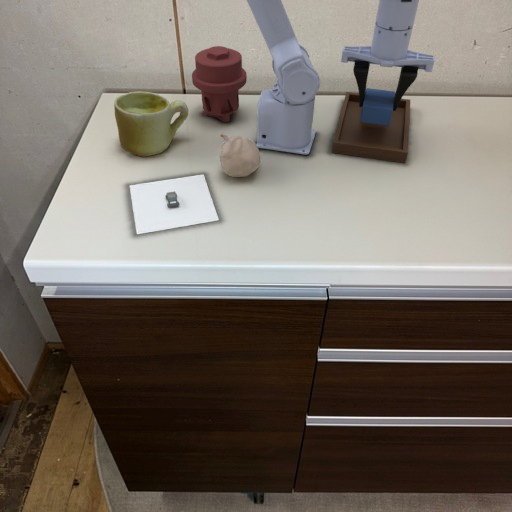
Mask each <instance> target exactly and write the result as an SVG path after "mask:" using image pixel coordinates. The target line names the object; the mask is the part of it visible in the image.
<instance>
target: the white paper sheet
mask: <svg viewBox="0 0 512 512" xmlns="http://www.w3.org/2000/svg"><path fill="white" fill-rule="evenodd" d="M129 190H130V198H131V204H132V211H133V212H132V213H133V219H134V225H135V226H134V227H135V232H136V235H142V234H148V233H153V232H159V231H165V230H169V229H170V230H171V229H176V228H183V227H189V226H193V225H200V224H205V223H211V222H217V221H220V220H219V219H220V218H219V216H218V213H217V210H216V207H215V204H214V200H213V199H212V198H213V197H212V195H211V192H210V189H209V187H208V183H207V180H206V178H205V174H197V175H189V176H184V177H183V176H182V177H177V178H170V179H163V180H157V181H150V182H149V181H148V182H144V183H137V184H131V185H129Z"/></svg>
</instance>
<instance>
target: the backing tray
mask: <svg viewBox="0 0 512 512" xmlns="http://www.w3.org/2000/svg"><path fill="white" fill-rule="evenodd" d="M359 103H360V99H359V92H350V91H346V92H345V95H344V99H343V102H342V107H341V109H340V114H339V117H338V121H337V126H336V129H335V133H334V137H333V140H332V147H331V153H333V154H339V155H346V156H354V157H359V158H368V159H375V160H380V161H387V162H395V163H400V164H401V163H402V164H405V163H406V160H407V157H408V153H409V135H410V117H411V116H410V115H411V99H409V98H401V100H400V102H399V104H398V106H397V109H396V111H393V112H392V116H391V121H390V125H389V126H386V125H379V124H371V123H364V122H360V119H361V113H362V108H363V107H360V106H359Z"/></svg>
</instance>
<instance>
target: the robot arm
mask: <svg viewBox="0 0 512 512" xmlns="http://www.w3.org/2000/svg"><path fill="white" fill-rule="evenodd" d="M246 2H247V4H248V6H249V9H250V10H251V13H252V15H253V18H254V20H255V22H256V24H257V26H258V28H259V30H260V33H261V35H262V38H263V39H264V41H265V44H266V46H267V48H268V51H269V53H270V55H271V57H272V62H271V66H272V71H273V72H274V75H275V77H276V81H275V84H274V85H273V87H272V89H263V90H262V91H261V93H260V95H259V99H258V105H257V116H256V117H257V118H256V119H257V121H256V122H257V125H256V128H257V129H256V131H257V132H256V143H255V144H256V146H257V147H258V149H263V150H269V151H271V150H272V151H279V152H285V153H292V154H298V155H299V154H300V155H304V156H308V155H309V154H310V152H311V149H312V146H313V143H314V140H315V136H316V133H317V131H316V130H315V129H313V123H314V112H315V104H316V103H315V101H316V95H317V94H318V92H319V90H320V87H321V78H320V75H319V73H318V71H317V70H316V69H315V67H314V65H313V63H312V61H311V60H310V55H309V53H308V51H307V50H306V48H305V47H304V46H303V45H301V44H300V43H299V41H298V38H297V37H296V36H297V35H296V33H295V31H294V29H293V26H292V24H291V21H290V19H289V17H288V14H287V11H286V9H285V6H284V4H283V1H282V0H246ZM419 2H420V0H378V6H377V12H376V17H375V23H374V28H373V35H372V40H371V45H366V46H365V45H363V46H348V45H344V46H343V48H342V51H341V59H340V62H341V63H345V64H347V63H349V62H352V63H354V64H353V69H352V70H353V75H354V79H355V81H356V85H357V89H358V90H357V91H358V93H359V99H360V103H359V106H360V107H363V103H364V99H365V94H366V88H367V83H368V77H369V72H370V66H371V65H377V66H380V67H383V68H393V67H394V68H395V67H396V68H400V73H399V78H398V83H397V86H396V88H395V89H396V90H395V95H394V103H393V104H394V105H393V111H396V109H397V106H398V104H399V102H400V100H401V99H403V97H404V95H405V93H406V92H407V91H408V90H409V88H410V87H411V86H412V85H413V84H414V82H416V80H417V77H418V74H419V73H418V72H419V70H424V72H427V73H432V72H433V68H434V64H435V61H436V59H435V58H436V56H435V55H432V54H426V53H422V52H417V51H413V50H409V45H410V42H411V36H412V32H413V27H414V24H415V19H416V17H417V16H416V15H417V11H418V7H419Z"/></svg>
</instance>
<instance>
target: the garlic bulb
mask: <svg viewBox="0 0 512 512" xmlns="http://www.w3.org/2000/svg"><path fill="white" fill-rule="evenodd" d="M219 137H221V138H222V139H223V140H222V142H223V143H222V145H221V148H220V153H219V161H220V168H221V170H222V171H223V172H224V173H225V174H226V175H227V176H229V177H232V178H239V177H243V178H245V177H248V176H250V175H251V174H252V173H254V172H256V171H257V169H258V168H259V166H260V164H261V152H260V148H258V147H257V146H256V144H257V143H255V142H254V140H252V139H250V138H247V137H242V136H239V135H236V136H231V137H228V134H227V135H226V134H223V133H221V134H220V135H219Z"/></svg>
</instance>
